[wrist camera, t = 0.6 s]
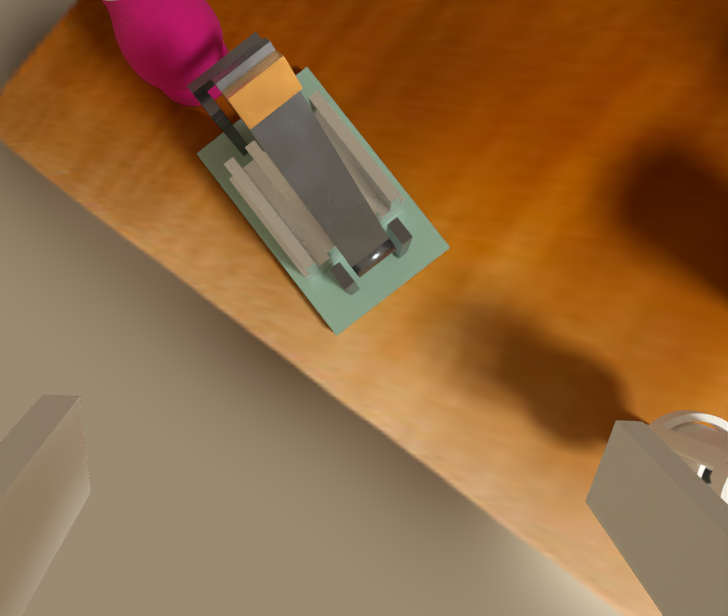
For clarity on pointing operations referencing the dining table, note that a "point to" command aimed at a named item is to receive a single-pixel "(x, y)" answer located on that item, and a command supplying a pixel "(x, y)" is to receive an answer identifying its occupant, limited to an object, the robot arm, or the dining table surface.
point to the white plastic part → (698, 445)
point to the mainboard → (325, 287)
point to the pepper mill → (169, 42)
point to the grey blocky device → (283, 204)
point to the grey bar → (303, 152)
